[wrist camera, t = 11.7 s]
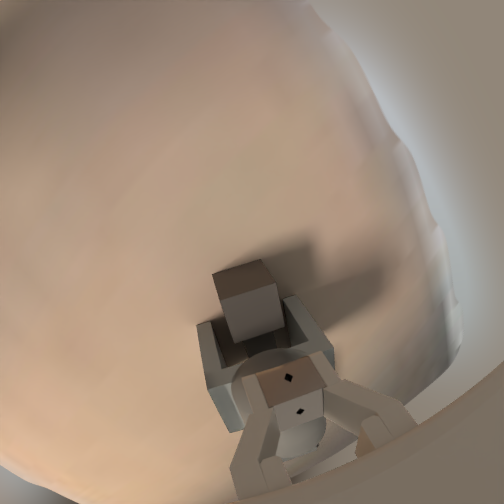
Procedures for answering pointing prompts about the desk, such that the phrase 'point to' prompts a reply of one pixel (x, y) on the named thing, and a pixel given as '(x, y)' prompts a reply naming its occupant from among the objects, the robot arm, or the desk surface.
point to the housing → (230, 379)
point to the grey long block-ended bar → (250, 305)
